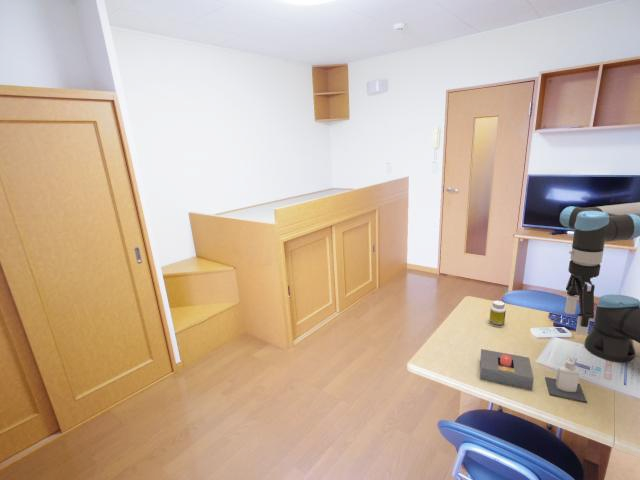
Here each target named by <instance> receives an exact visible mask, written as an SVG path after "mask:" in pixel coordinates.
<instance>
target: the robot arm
mask: <svg viewBox="0 0 640 480" xmlns="http://www.w3.org/2000/svg"><path fill="white" fill-rule="evenodd" d="M559 223H560V224H561V225H562V226H563V227H566V228H569V230H573V237H572V244H571V250H569V251H568V253H569V255H570V257H569V258H570V260H569V265H568V272H569V273H570V277H569V278H568V281H567V284H566V287H565V291H566V294H567V296H566V301H565V308H564V314H567V315H575V314H576V309H577V303H579V305H578V306H579V313H577V314H576V315H577V321H576V327H575V328H576V329H575V335H579V336H586V337H585V339H584V344H583V346H584V347H585V348H586V350H587V351H588V352H590V353H591V354H593V355H595V356H597V357H599V358H601V359H604V360H607V361H611V362H616V363H630V362H633V361H634V360H635V358H636V349H635V344H634V341H636V342H637V343H639V344H640V300H639V299H638V298H636V297H633V296H628V295H623V294H614V293H613V294H612V293H611V294H604V295H601V296H599V298H598V302H597V304H596V310H595V302H594V301H595V295H594V294H595V288H596V286H595V284H593V282H592V281H591V279H593V278H597V277H598V276H600V273H601V272H600V271H601V263H602V261H603V254H604V249H605V244H606V243H608V242H609V243H610V242H615V241H618V242H619V241H628V240H631V239H636V238H639V237H640V201H638V202H631V203H630V202H629V203H620V204H611V205H609V204H608V205H602V206H592V207H591V206H590V207H580V206H571V205H570V206H567V207H565V208H564V209H563V210H562V211H561V212H560V214H559ZM578 301H579V302H578ZM591 319H594V321H593V326H592V329H591V331H589V327H590V320H591ZM588 333H589V334H588ZM633 340H634V341H633Z"/></svg>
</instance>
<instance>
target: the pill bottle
mask: <svg viewBox="0 0 640 480" xmlns="http://www.w3.org/2000/svg"><path fill="white" fill-rule="evenodd" d="M506 312H507V311H506V307H505V302H503V301H501V300H493V301H492V305H491V307H490V309H489V321H488V322H489V324H490V326H493V327H495V328H502V327H504V326H505V322H506Z"/></svg>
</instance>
